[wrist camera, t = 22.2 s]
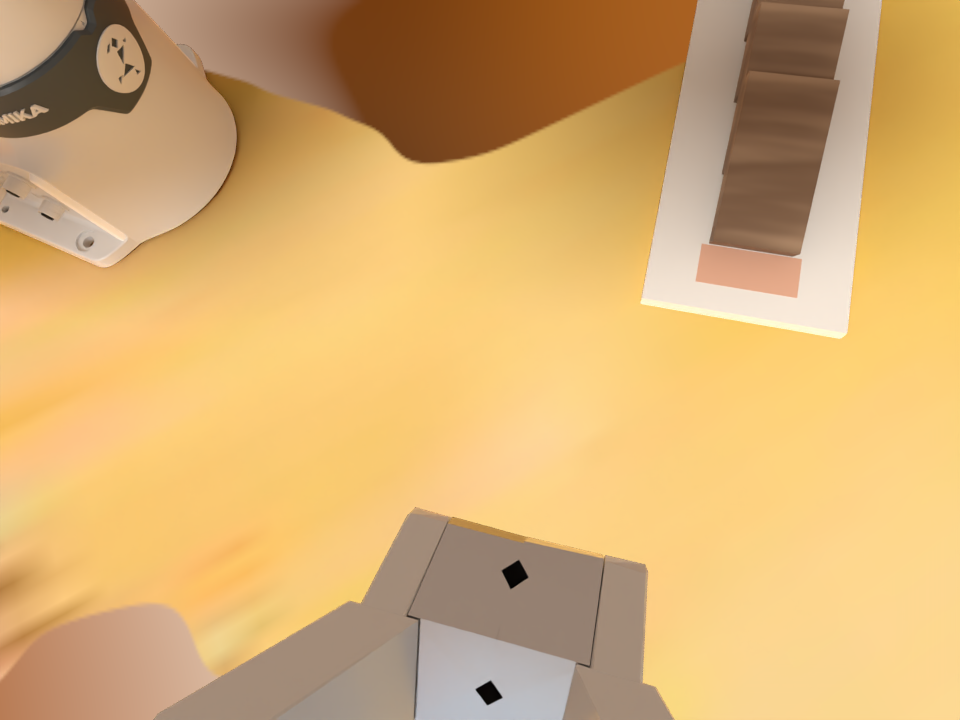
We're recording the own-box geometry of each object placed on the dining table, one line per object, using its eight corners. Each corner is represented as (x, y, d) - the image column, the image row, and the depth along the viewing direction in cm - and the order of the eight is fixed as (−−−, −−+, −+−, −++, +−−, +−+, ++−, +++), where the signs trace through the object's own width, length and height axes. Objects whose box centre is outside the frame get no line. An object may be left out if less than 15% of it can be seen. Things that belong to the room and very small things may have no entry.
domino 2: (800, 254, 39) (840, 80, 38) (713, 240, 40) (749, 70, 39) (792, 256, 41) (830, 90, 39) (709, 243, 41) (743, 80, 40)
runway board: (640, 303, 42) (641, 297, 41) (701, -22, 48) (704, -34, 47) (840, 338, 40) (847, 333, 39) (877, -8, 46) (883, -20, 45)
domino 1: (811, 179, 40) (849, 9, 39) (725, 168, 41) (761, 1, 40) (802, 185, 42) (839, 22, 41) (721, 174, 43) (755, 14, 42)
